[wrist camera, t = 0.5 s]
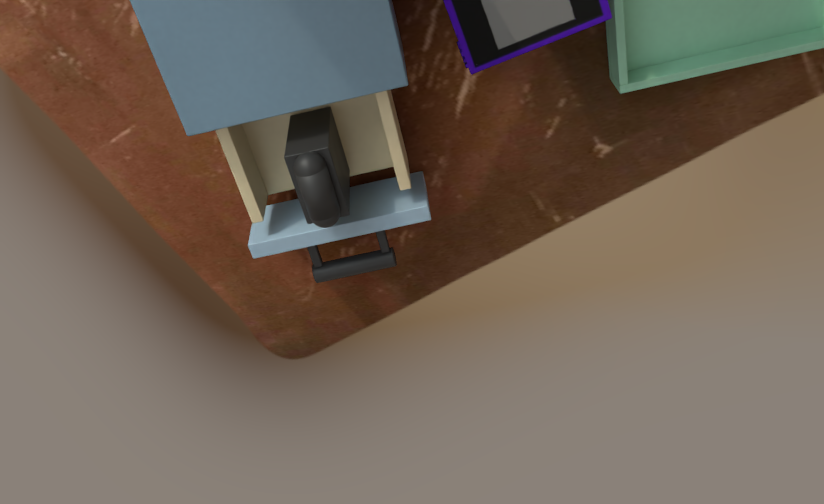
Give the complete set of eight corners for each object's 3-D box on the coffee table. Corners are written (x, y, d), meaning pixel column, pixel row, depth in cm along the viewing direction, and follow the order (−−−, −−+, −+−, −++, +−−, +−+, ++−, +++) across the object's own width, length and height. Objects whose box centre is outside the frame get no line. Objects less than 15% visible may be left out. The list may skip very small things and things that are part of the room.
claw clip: (289, 114, 52) (281, 166, 46) (330, 104, 52) (327, 156, 46) (311, 180, 55) (306, 238, 49) (350, 171, 55) (350, 228, 49)
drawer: (437, 231, 60) (443, 268, 56) (277, 265, 60) (272, 305, 56) (378, -13, 49) (381, 11, 45) (186, 33, 50) (171, 61, 46)
